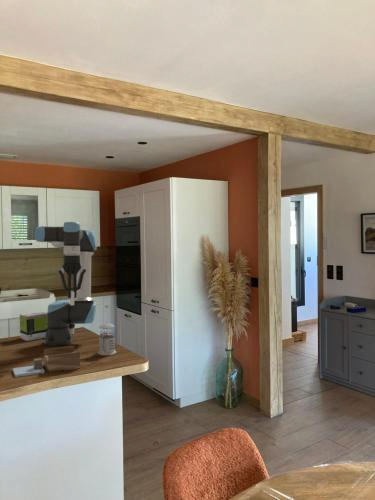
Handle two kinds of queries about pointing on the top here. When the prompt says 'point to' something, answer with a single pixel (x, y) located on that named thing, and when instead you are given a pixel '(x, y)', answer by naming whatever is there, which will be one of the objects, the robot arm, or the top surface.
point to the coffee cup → (71, 328)
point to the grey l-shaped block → (29, 369)
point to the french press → (106, 340)
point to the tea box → (33, 325)
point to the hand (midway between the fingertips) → (72, 304)
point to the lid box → (61, 359)
